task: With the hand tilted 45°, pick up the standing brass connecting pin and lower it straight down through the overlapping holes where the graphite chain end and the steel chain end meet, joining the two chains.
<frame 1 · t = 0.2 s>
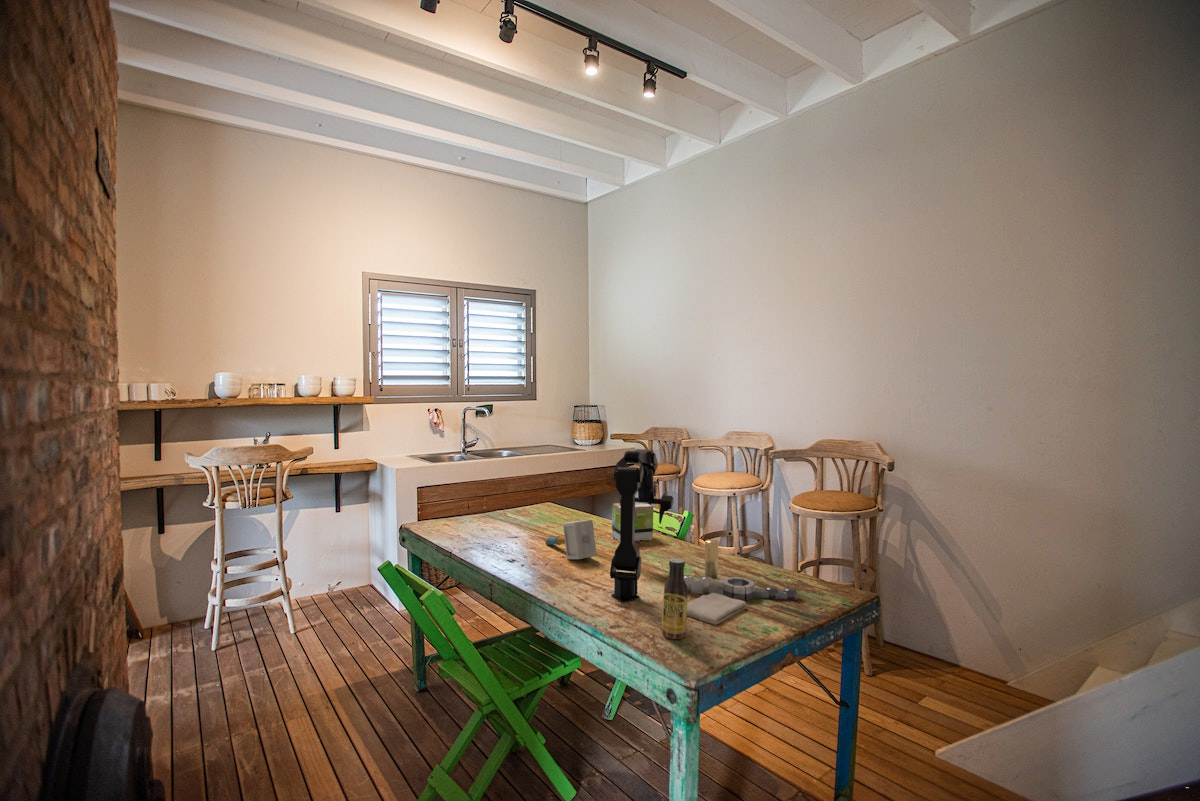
hand: (647, 522, 212), 15 cm above the table, tool pointing down, fingers open, 9 cm apart
washcloth: (714, 613, 169), on the table
brass pin: (711, 579, 197), on the table
chain joint: (738, 594, 182), on the table
hammer: (566, 553, 227), on the table
tea box: (632, 539, 248), on the table
sauce bottle: (674, 636, 152), on the table
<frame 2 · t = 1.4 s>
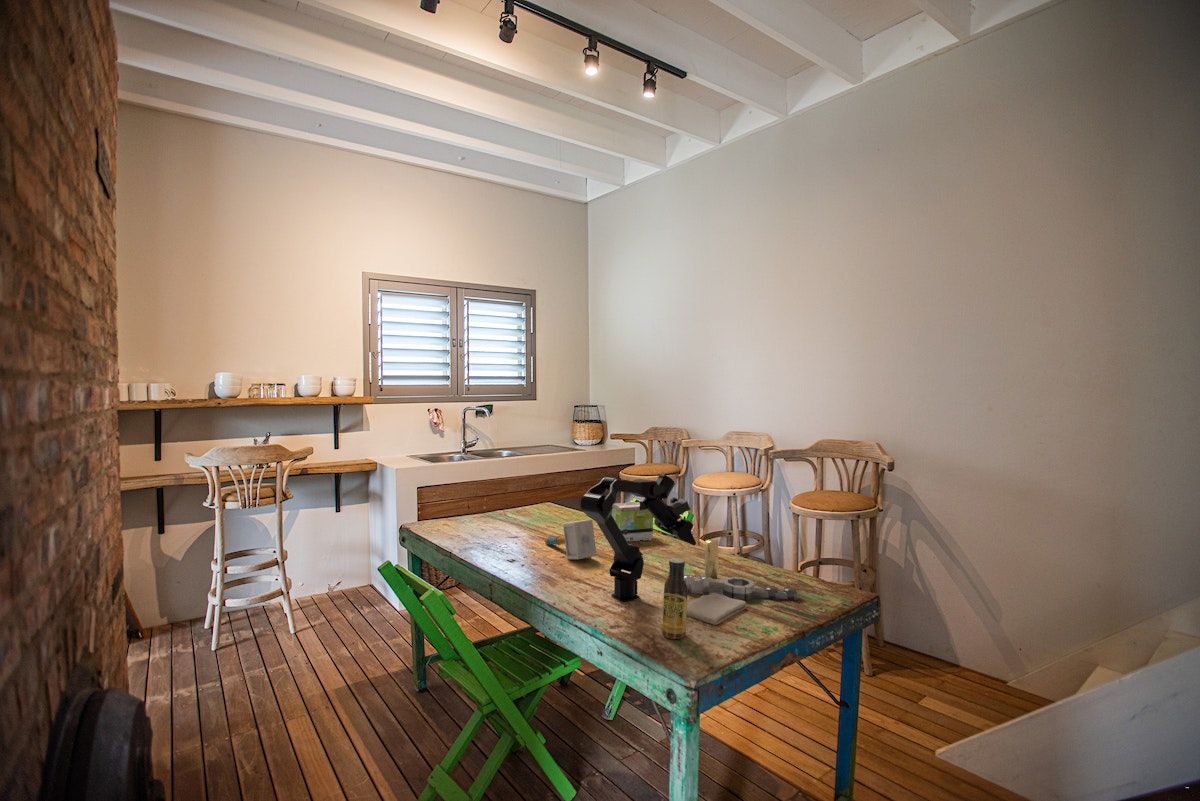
hand: (688, 541, 195), 13 cm above the table, tool tilted 45°, fingers open, 9 cm apart
nothing on the table moved.
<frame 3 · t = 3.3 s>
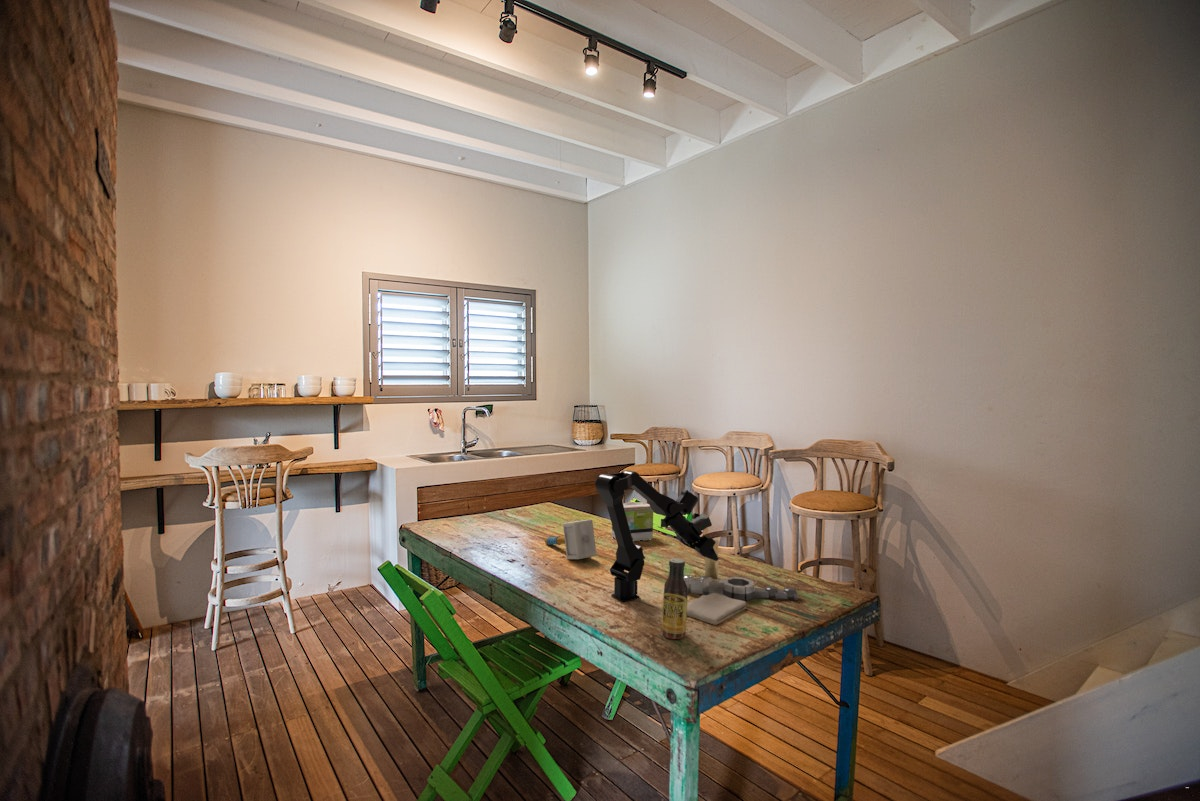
hand: (711, 555, 196), 8 cm above the table, tool tilted 45°, fingers open, 9 cm apart
nothing on the table moved.
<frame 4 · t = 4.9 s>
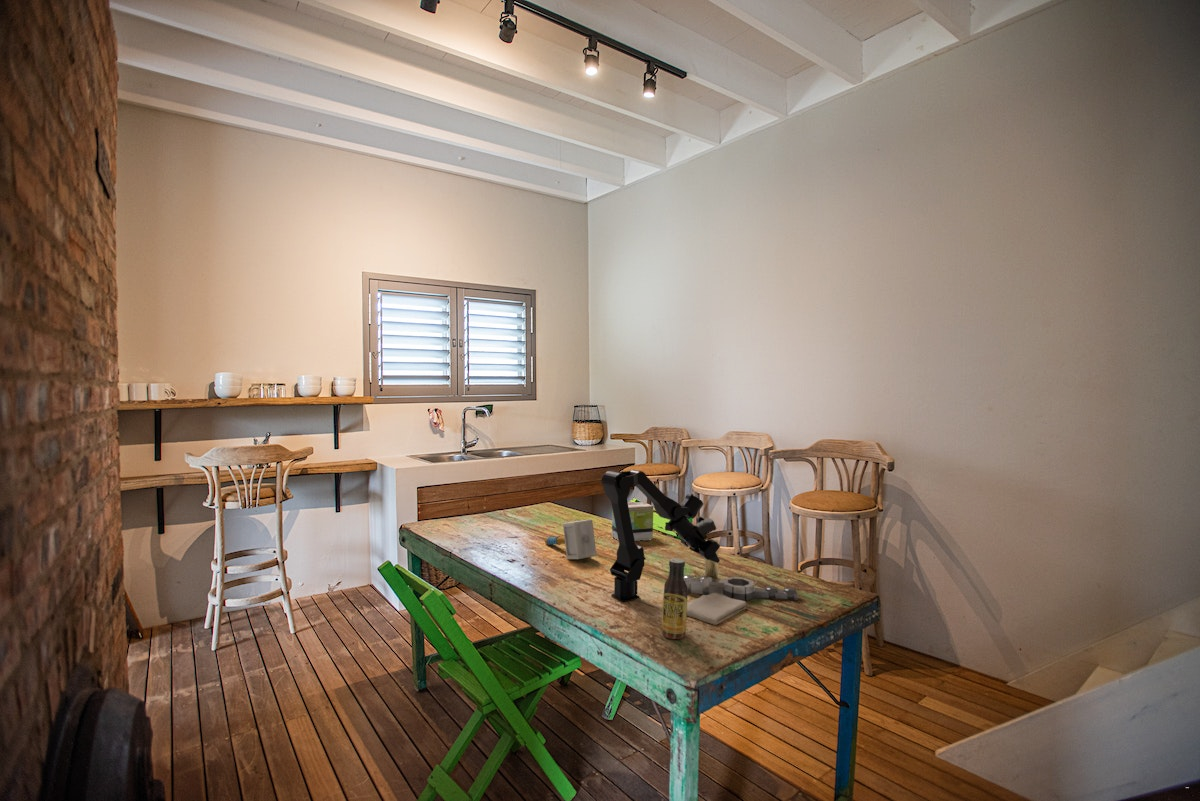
hand: (715, 559, 197), 7 cm above the table, tool tilted 45°, fingers closed on brass pin, 4 cm apart
brass pin: (711, 579, 197), on the table, touching gripper
everything else where it was.
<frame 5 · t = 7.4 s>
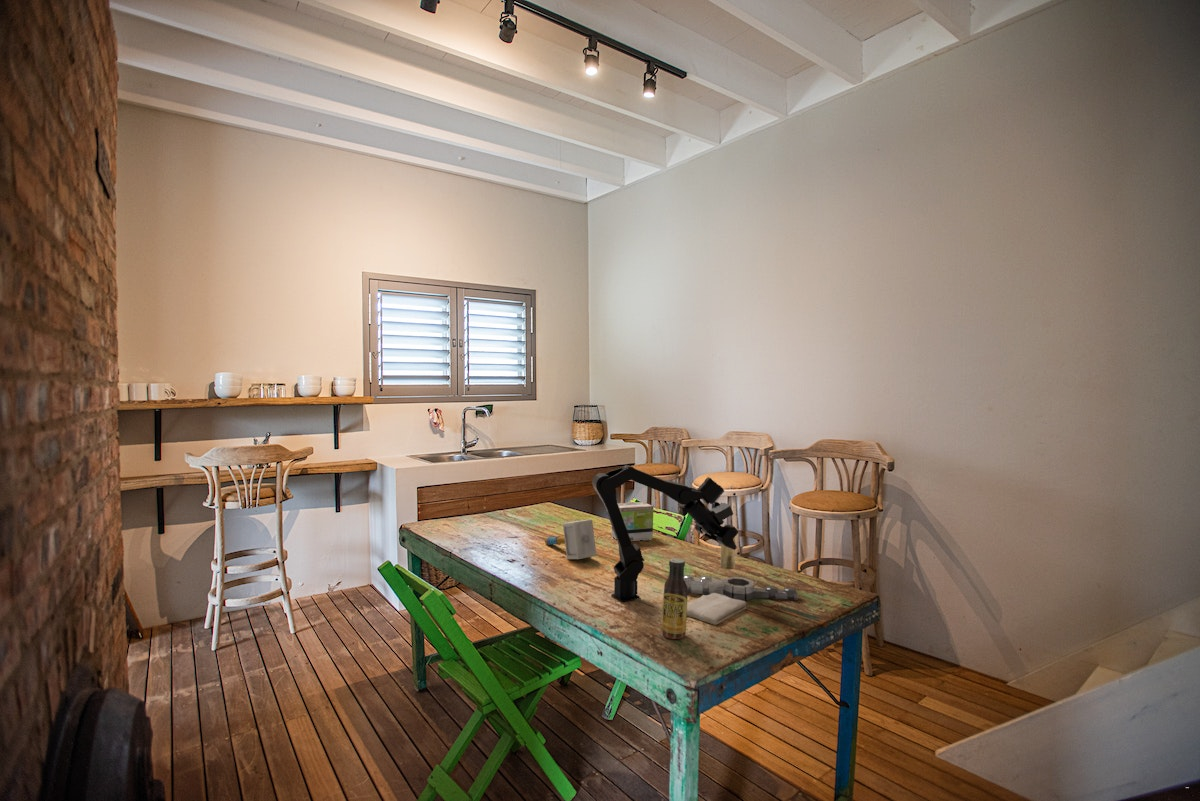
hand: (731, 546, 188), 13 cm above the table, tool tilted 45°, fingers closed on brass pin, 4 cm apart
brass pin: (727, 567, 188), point 7 cm above the table, touching gripper
everything else where it was.
when the fingers open (8 cm above the table, at t = 10.0 s): brass pin drops 1 cm, resting in chain joint.
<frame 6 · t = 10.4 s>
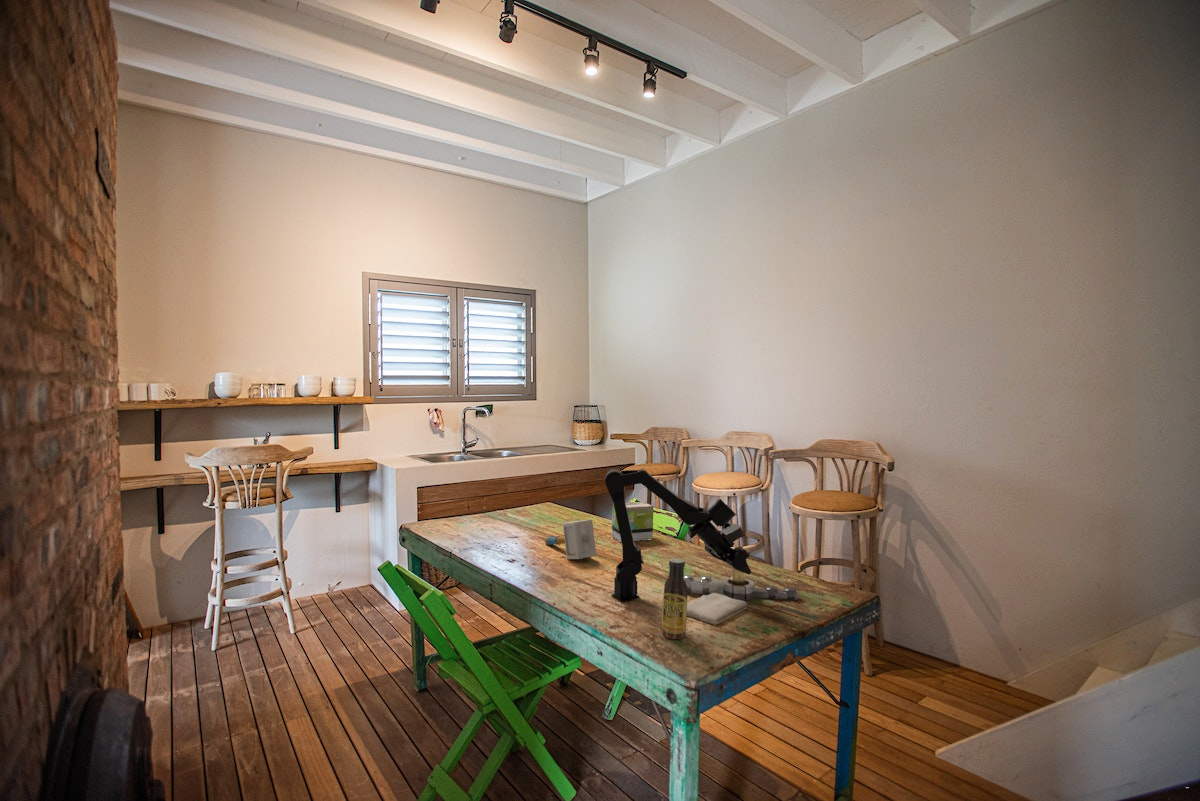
hand: (742, 568, 182), 8 cm above the table, tool tilted 45°, fingers open, 9 cm apart
brass pin: (737, 594, 182), resting in chain joint
everything else where it was.
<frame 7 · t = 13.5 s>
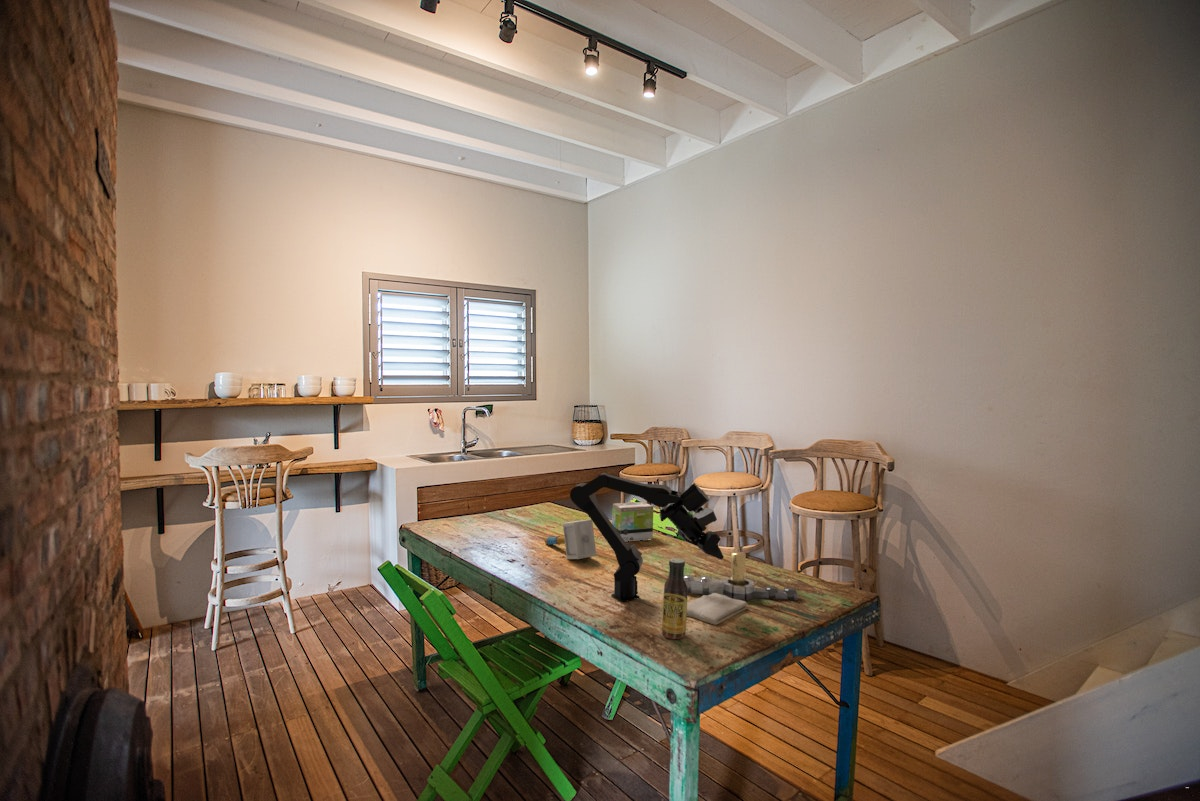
hand: (715, 553, 180), 14 cm above the table, tool tilted 45°, fingers open, 9 cm apart
nothing on the table moved.
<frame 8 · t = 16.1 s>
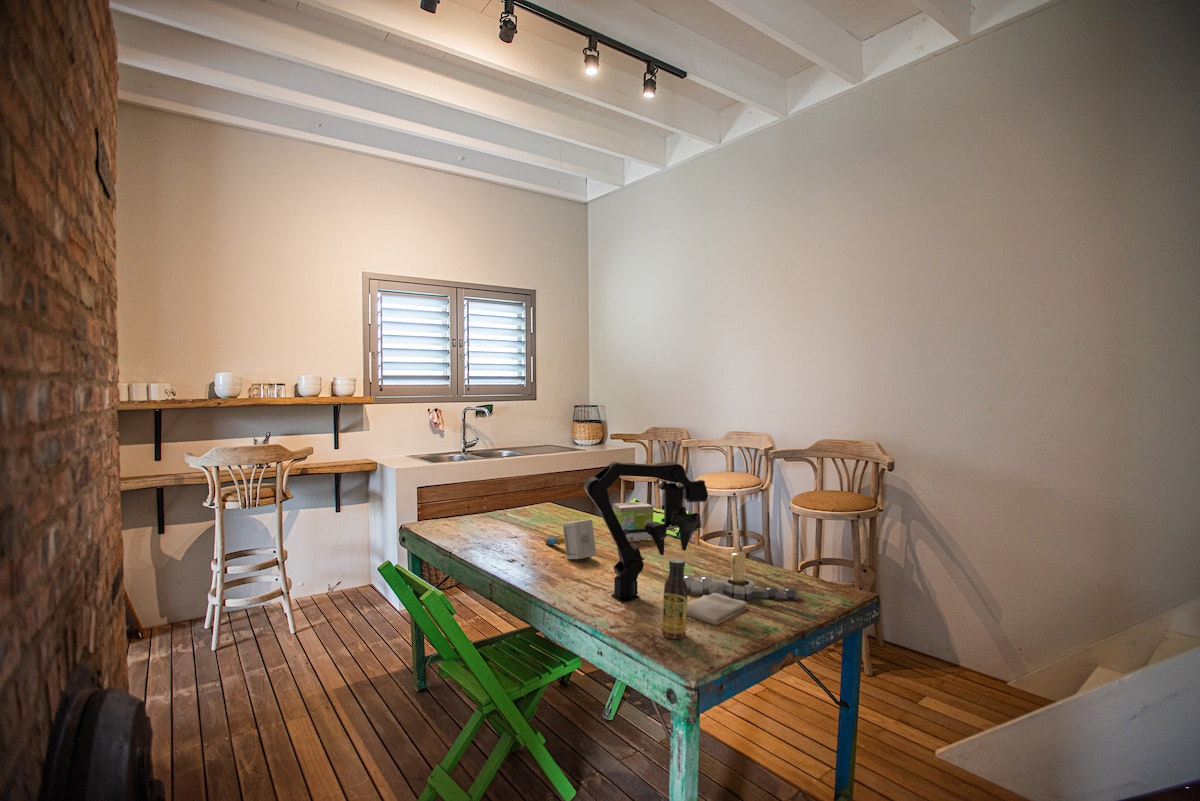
hand: (673, 552, 182), 13 cm above the table, tool pointing down, fingers open, 9 cm apart
nothing on the table moved.
at the end: brass pin 0.1 cm off-centre on the chain joint, point 0.0 cm above the chain joint's base; brass pin tilted 0°; the gripper is holding nothing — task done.
